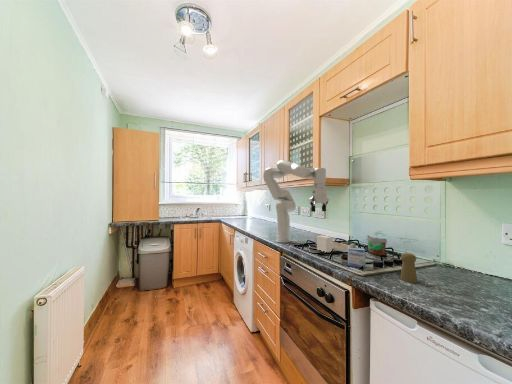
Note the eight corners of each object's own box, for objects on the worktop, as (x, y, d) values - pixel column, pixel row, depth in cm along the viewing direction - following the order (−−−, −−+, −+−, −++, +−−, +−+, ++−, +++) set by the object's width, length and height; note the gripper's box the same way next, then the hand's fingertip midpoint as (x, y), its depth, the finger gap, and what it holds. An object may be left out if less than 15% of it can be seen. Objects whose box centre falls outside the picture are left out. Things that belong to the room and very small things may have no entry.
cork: (396, 278, 94) (396, 252, 94) (406, 276, 97) (405, 251, 97) (411, 284, 89) (411, 256, 89) (421, 281, 91) (420, 254, 91)
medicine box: (347, 266, 111) (347, 248, 111) (347, 263, 115) (347, 247, 115) (365, 268, 108) (365, 250, 108) (364, 265, 112) (364, 248, 112)
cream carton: (326, 252, 138) (326, 238, 138) (316, 249, 145) (316, 236, 145) (332, 251, 140) (332, 237, 141) (322, 248, 147) (322, 235, 148)
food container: (361, 252, 138) (361, 236, 138) (368, 251, 141) (368, 235, 141) (380, 257, 127) (379, 239, 127) (387, 256, 130) (387, 238, 130)
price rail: (315, 244, 159) (315, 236, 159) (318, 244, 160) (318, 236, 161) (352, 254, 133) (352, 244, 133) (355, 253, 135) (355, 243, 135)
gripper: (313, 185, 143) (312, 212, 144) (332, 186, 152) (331, 211, 152) (305, 185, 150) (305, 211, 150) (324, 186, 158) (323, 210, 158)
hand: (318, 211), depth 151 cm, fingers open, 9 cm apart
